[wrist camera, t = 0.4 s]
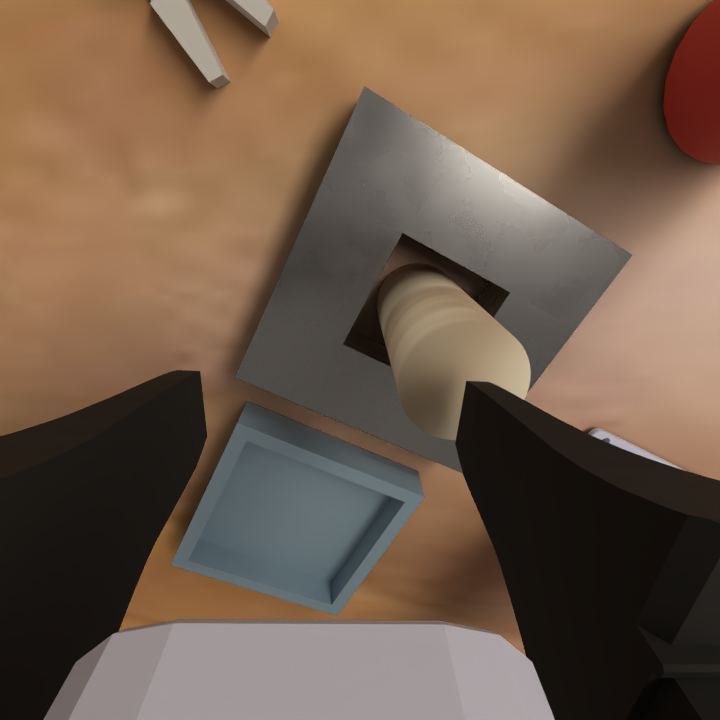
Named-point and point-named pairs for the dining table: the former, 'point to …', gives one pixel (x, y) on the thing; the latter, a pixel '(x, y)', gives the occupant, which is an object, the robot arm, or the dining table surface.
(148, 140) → the dining table surface
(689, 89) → the beer can
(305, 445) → the slate tray
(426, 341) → the birch peg
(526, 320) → the hitch block
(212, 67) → the pliers
